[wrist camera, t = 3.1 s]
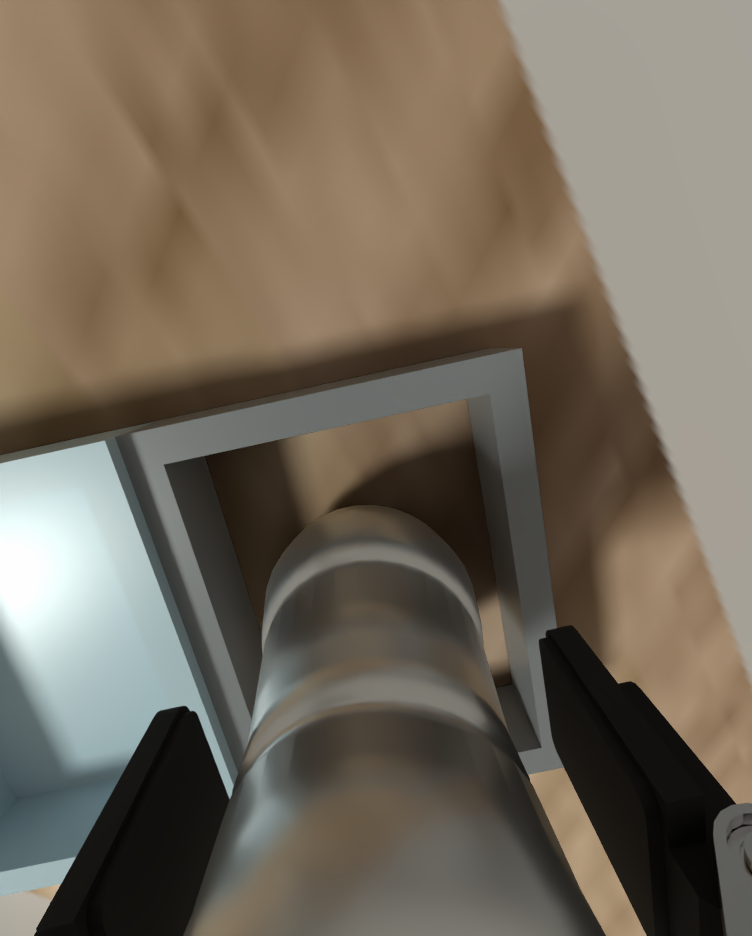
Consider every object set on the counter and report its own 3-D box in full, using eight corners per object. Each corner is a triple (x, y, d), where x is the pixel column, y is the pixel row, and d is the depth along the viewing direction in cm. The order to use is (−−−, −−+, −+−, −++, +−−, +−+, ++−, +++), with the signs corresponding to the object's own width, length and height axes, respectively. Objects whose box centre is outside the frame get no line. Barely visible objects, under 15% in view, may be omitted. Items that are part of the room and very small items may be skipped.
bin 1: (-160, 490, 15) (-307, 530, 12) (161, 419, 15) (104, 440, 12) (12, 808, 19) (-63, 908, 15) (273, 754, 19) (255, 844, 15)
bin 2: (161, 419, 15) (115, 437, 12) (489, 347, 15) (521, 347, 12) (273, 754, 19) (258, 829, 16) (540, 699, 18) (574, 765, 16)
